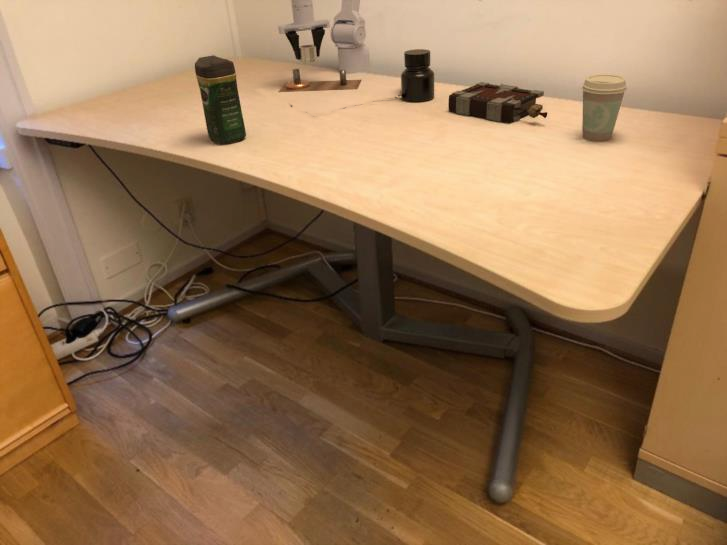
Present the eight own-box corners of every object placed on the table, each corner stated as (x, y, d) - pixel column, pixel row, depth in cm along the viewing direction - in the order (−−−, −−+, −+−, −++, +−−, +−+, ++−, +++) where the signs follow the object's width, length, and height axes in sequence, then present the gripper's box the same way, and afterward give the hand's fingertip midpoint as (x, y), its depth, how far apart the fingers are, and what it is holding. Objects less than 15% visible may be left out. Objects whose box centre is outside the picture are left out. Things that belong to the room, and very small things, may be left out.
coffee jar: (251, 139, 137) (238, 56, 128) (220, 147, 134) (203, 63, 124) (234, 130, 144) (220, 51, 135) (204, 137, 141) (187, 57, 131)
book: (481, 99, 154) (482, 80, 152) (569, 115, 139) (571, 93, 136) (447, 113, 146) (447, 93, 143) (536, 131, 130) (538, 108, 128)
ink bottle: (437, 93, 161) (437, 47, 155) (434, 102, 154) (434, 54, 147) (402, 94, 163) (400, 48, 157) (398, 103, 155) (396, 56, 149)
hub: (303, 82, 175) (301, 65, 173) (313, 86, 170) (311, 69, 168) (282, 86, 173) (280, 69, 170) (291, 90, 168) (289, 73, 165)
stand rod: (344, 83, 171) (343, 69, 169) (347, 84, 169) (346, 70, 167) (339, 84, 170) (338, 70, 168) (342, 85, 169) (341, 71, 167)
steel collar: (317, 58, 169) (315, 44, 167) (317, 62, 165) (315, 47, 163) (299, 60, 169) (298, 45, 167) (299, 63, 165) (297, 48, 163)
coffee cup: (566, 135, 126) (573, 78, 120) (598, 127, 129) (606, 71, 122) (595, 146, 119) (603, 86, 113) (627, 138, 122) (638, 79, 116)
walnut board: (362, 84, 175) (361, 79, 174) (357, 94, 165) (357, 89, 165) (287, 87, 178) (286, 82, 177) (278, 97, 168) (277, 92, 167)
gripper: (321, 1, 165) (326, 51, 172) (272, 7, 160) (279, 59, 168) (331, 3, 160) (335, 55, 167) (280, 9, 155) (287, 63, 162)
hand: (307, 57), depth 167 cm, fingers closed on steel collar, 5 cm apart
